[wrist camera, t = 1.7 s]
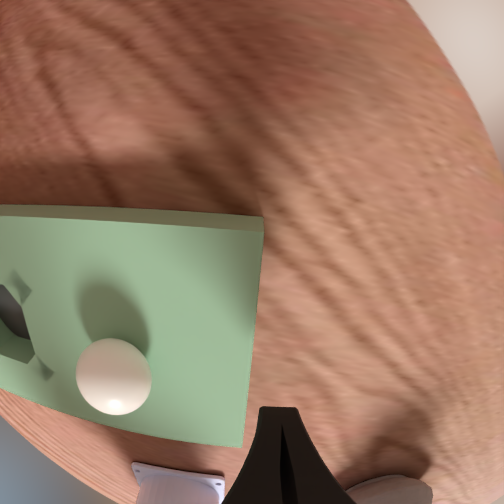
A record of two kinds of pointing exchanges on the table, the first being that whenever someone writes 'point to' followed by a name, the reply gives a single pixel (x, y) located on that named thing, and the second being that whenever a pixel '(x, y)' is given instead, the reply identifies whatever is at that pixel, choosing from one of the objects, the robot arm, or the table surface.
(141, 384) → the ball
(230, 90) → the table surface
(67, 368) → the plate
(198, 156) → the table surface
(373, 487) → the coffee pot
